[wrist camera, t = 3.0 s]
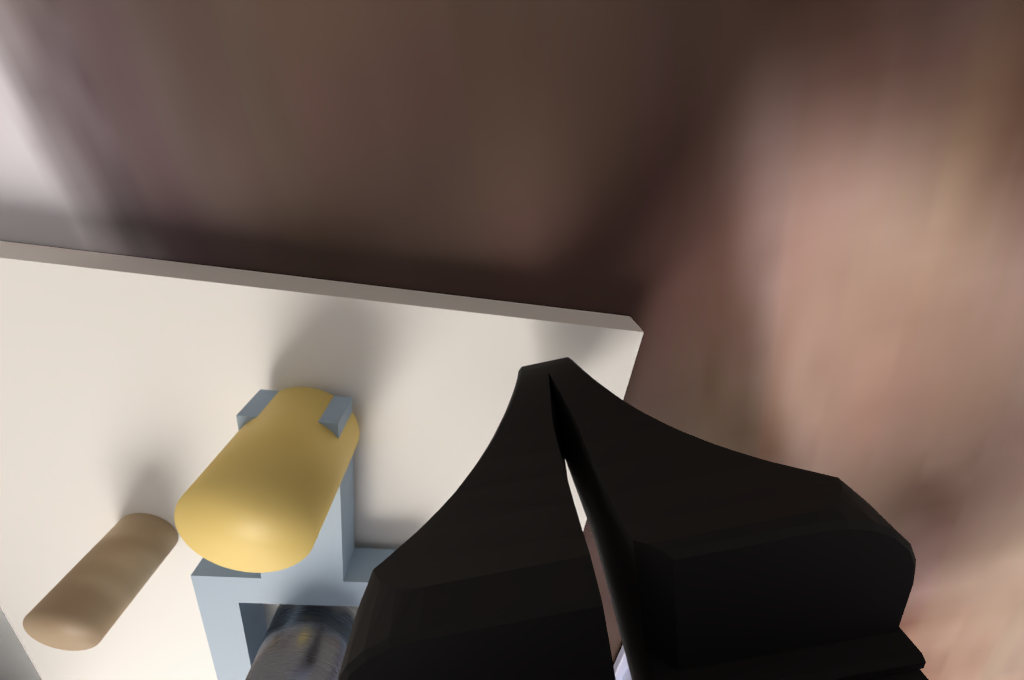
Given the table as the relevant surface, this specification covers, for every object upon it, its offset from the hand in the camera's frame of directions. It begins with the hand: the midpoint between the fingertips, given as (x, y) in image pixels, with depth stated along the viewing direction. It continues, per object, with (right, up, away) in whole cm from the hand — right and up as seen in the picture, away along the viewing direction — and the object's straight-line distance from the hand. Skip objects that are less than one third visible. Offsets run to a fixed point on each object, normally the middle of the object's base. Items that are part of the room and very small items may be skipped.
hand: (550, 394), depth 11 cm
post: (-8, -8, +6) cm, 13 cm away
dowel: (-13, -4, +4) cm, 14 cm away
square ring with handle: (-8, -6, +3) cm, 10 cm away
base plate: (-9, -7, +5) cm, 12 cm away
